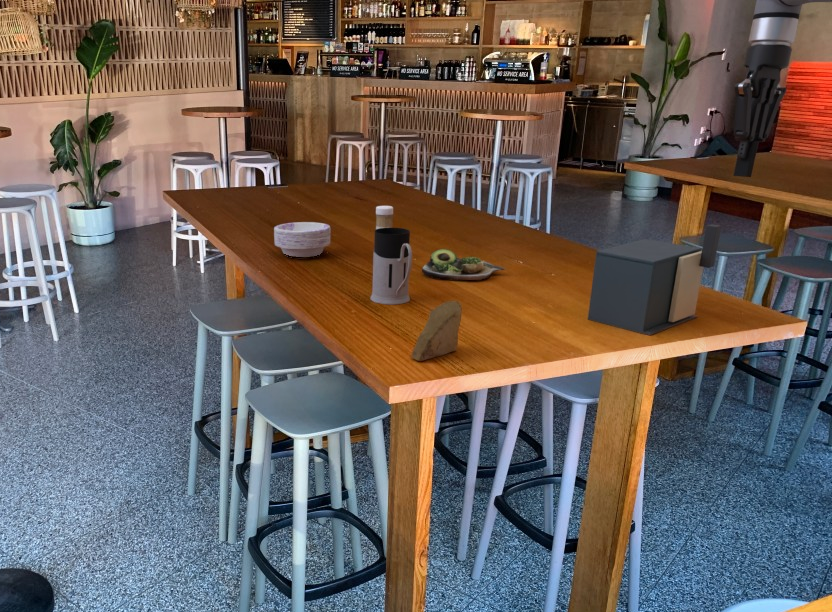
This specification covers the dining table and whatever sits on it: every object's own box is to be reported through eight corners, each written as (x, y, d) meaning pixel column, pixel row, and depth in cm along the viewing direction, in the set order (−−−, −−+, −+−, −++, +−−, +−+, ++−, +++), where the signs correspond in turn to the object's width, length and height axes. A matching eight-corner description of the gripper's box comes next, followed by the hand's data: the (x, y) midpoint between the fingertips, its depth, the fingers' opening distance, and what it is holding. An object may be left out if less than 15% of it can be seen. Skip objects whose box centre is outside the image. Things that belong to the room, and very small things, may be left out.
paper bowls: (282, 248, 223) (281, 219, 220) (335, 250, 220) (335, 221, 217) (268, 260, 209) (267, 230, 206) (324, 262, 206) (324, 232, 203)
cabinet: (696, 317, 161) (709, 249, 155) (650, 335, 150) (662, 263, 145) (635, 303, 170) (645, 238, 165) (587, 319, 160) (596, 250, 155)
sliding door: (704, 316, 159) (721, 225, 152) (682, 324, 154) (699, 231, 147) (690, 312, 161) (706, 223, 154) (668, 321, 156) (683, 228, 149)
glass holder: (400, 292, 179) (402, 225, 174) (427, 309, 167) (431, 238, 161) (364, 295, 177) (365, 228, 171) (389, 313, 164) (391, 241, 159)
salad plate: (508, 268, 200) (510, 250, 198) (497, 285, 185) (499, 265, 183) (433, 262, 206) (434, 244, 205) (416, 278, 191) (417, 259, 189)
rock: (419, 356, 133) (474, 343, 135) (405, 309, 135) (459, 297, 137) (405, 373, 144) (456, 361, 145) (392, 329, 145) (443, 318, 147)
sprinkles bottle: (394, 256, 213) (396, 206, 208) (387, 259, 209) (388, 208, 204) (379, 254, 215) (380, 204, 210) (371, 258, 211) (372, 207, 206)
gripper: (771, 49, 153) (744, 175, 160) (729, 43, 147) (703, 174, 154) (809, 47, 147) (780, 178, 154) (768, 40, 140) (739, 177, 148)
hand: (742, 176), depth 154 cm, fingers closed
